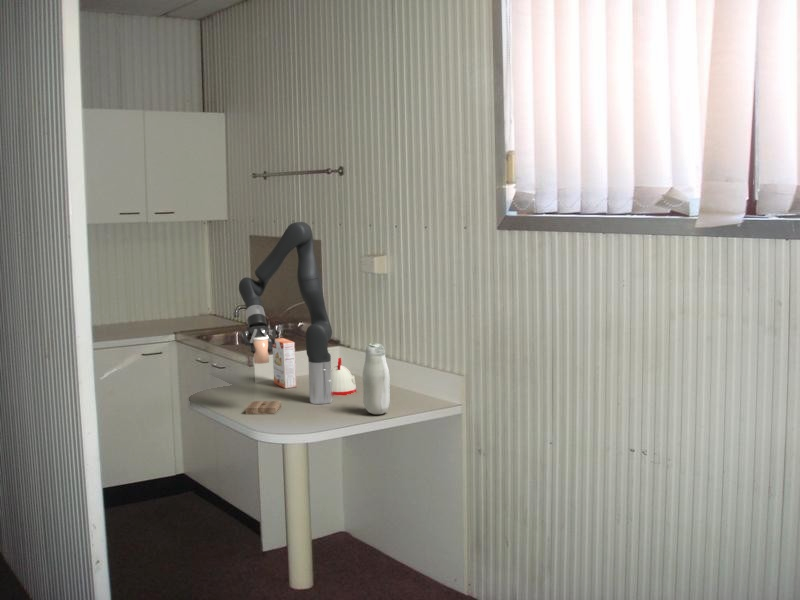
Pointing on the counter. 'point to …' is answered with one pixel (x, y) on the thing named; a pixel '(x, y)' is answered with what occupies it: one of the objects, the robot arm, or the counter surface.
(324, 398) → the robot arm
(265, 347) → the terracotta canister
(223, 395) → the counter surface
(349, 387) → the kitchen timer
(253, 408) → the walnut board
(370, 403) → the glass bottle
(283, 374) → the cracker box
